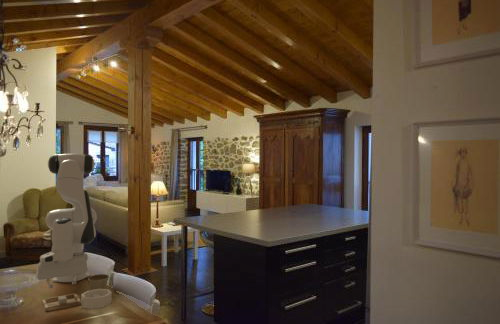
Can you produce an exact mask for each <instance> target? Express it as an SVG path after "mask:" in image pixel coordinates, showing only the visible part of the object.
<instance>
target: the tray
mask: <svg viewBox="0 0 500 324" xmlns="http://www.w3.org/2000/svg"><path fill="white" fill-rule="evenodd" d="M60 296H61V295H59V296H52V297H47V298H43V299H41V304H42V306H43V309H44V311H45V312H50V311H56V310H60V309H65V308H70V307H75V306H82V305H81V298H79V296H78V295H77V293H76V292H74V293H70V294H64V295H62V296H66V298H67V303H63V304H58V297H60Z"/></svg>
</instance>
